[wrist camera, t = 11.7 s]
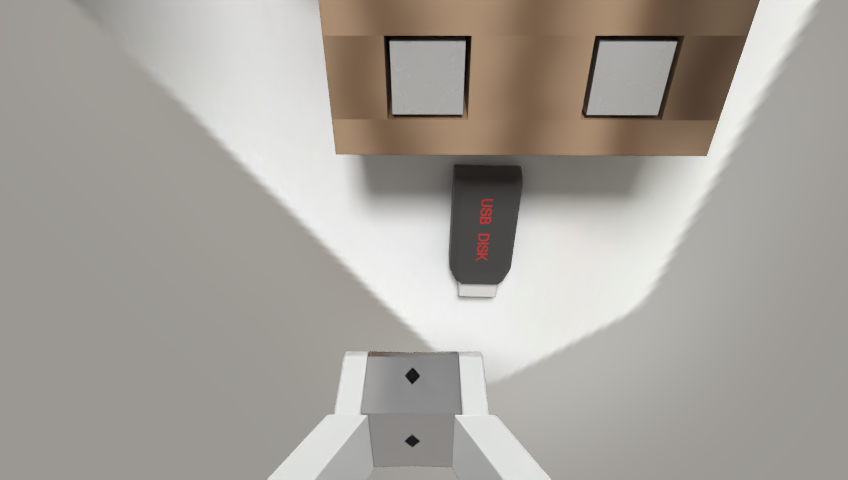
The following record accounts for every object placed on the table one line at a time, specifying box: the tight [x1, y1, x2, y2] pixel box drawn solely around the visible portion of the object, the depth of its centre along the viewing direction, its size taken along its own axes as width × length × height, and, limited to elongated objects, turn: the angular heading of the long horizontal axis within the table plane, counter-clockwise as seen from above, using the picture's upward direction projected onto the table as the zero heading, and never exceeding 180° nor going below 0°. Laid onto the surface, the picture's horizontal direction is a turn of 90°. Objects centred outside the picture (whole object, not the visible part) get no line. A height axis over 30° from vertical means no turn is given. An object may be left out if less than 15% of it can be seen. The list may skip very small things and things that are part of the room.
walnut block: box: [319, 0, 760, 156], centre depth 31 cm, size 22×9×8 cm, turn 90°
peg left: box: [390, 36, 466, 115], centre depth 31 cm, size 4×4×7 cm
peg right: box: [582, 36, 677, 115], centre depth 31 cm, size 4×4×7 cm
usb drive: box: [449, 165, 522, 297], centre depth 43 cm, size 5×12×3 cm, turn 179°
